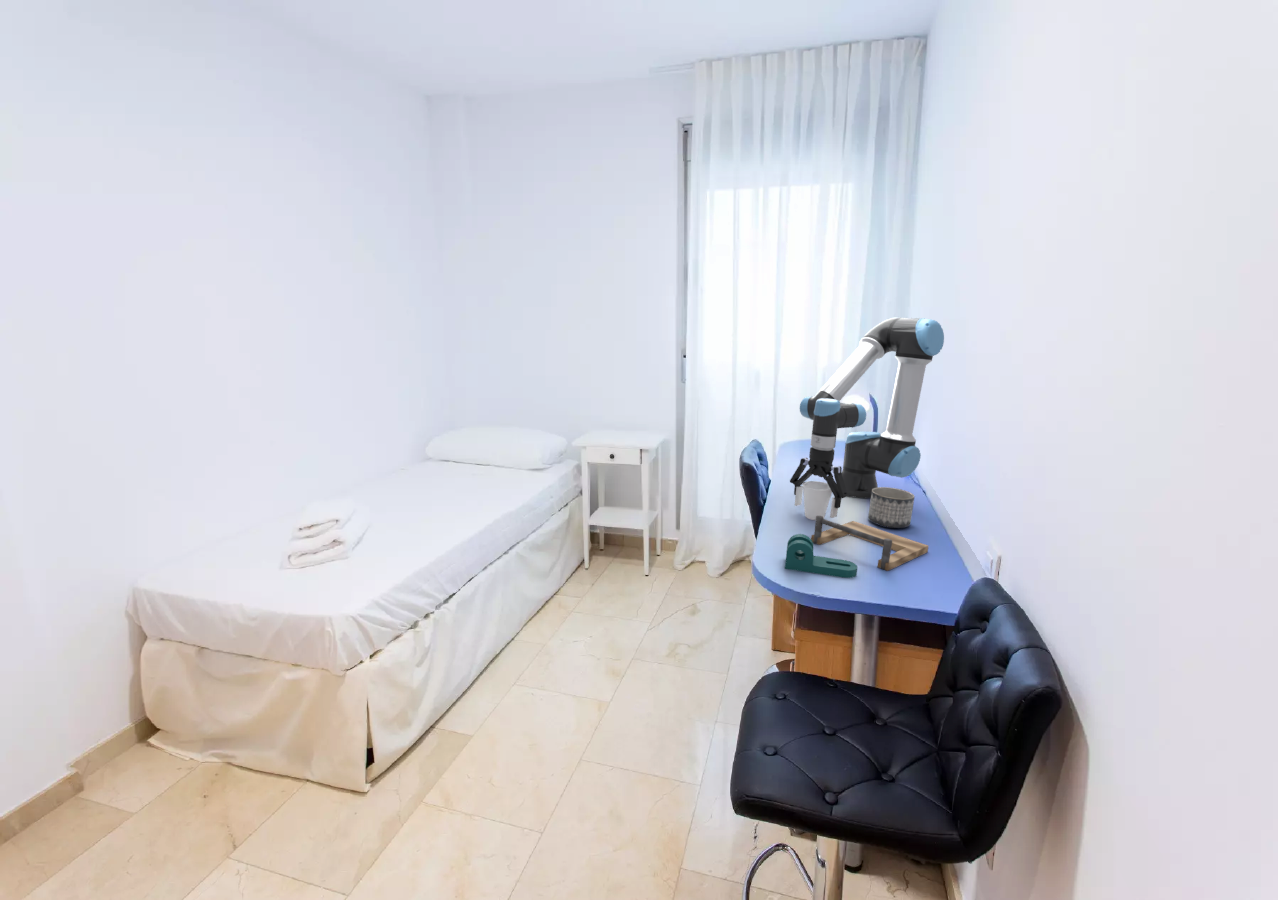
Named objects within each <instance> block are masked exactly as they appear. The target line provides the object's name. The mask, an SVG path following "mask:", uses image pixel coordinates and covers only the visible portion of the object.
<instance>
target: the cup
mask: <svg viewBox="0 0 1278 900" xmlns="http://www.w3.org/2000/svg"><path fill="white" fill-rule="evenodd" d="M801 486H803V507H804V516H805V518H806V519H809V520H811V521H816V516H823V519H825V517H826V514H827V510H828V507H829V502H830V501H831V499H832V498H831V497H832V495H833V493H832V491H831V489H830V487H829V485H828V483H827V482H823V481H816V480H808V481H807V480H806V481H805V482H804V483H802V485H801Z"/></svg>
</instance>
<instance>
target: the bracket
mask: <svg viewBox="0 0 1278 900" xmlns="http://www.w3.org/2000/svg"><path fill="white" fill-rule="evenodd" d="M785 555H786V556H785V565H784V570H789V571H797V572H803V573H804V572H805V573H809V574H810V573H811V574H816V575H825V576H832V577H837V578H843V579H844V578H846V579H850V578H855V577H857V574H858V565H857V564H856V563H855V562H852V561H849V560H847V559H841V558H840V559H839V558H834V557H833V558H832V557H825V556H819V555H815V554H814V543H813V542H812V540H811V537H810V536H808V535H806V534H803V533H796V534H793V535H792V536H790V538H789V539H788V541H787V546H786V554H785Z"/></svg>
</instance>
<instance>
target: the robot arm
mask: <svg viewBox="0 0 1278 900" xmlns="http://www.w3.org/2000/svg"><path fill="white" fill-rule="evenodd" d="M944 343H945V334H944V329H943V328H942V325H941V324H940V323H939V322H938V321H937V320H935V319H929V318H920V317H919V318H917V317H916V318H912V317H911V318H910V317H891V318H889V319H888V318H887V319H886V320H883V321H882V322H880V323H878V324H877V325H875V326H874V327H872V328H871V329H870V330H869V331H868V332H867V333H866V334H864V335H863V336H862V338H861V339H860V341H859V343H858V347H857V348H856V349H855V350H854V351H853V352H852V353H851V354H850V356H849V357H848V358H847V359H846V360H845V361H844V362H843V363H842V365H841V366H840V367H839V368H838V369H837V370H836V371H835V373H833V375H832V376H831V377H830V378H829V379H828V380H827V382H826V383H825V384H824V385H823V386H822V387H821V388H820V389H819V391H818V392H816V394H815V395H814V396H812V395H811V396H806V397H804V398H803V399H802V400H801V401H800V404H799V413H800V414H801V416H802V417H804V418H806V419H809V420H811V421H812V428H811V429H812V430H811V437H810V438H811V439H810V446H811V447H810V448H809V459H808V457H804V458H803V457H802V458H800V459H799V460H800V462H799V465H798V467H797V468H796V470H795V471H794V473H793V474H792V476H791V478H790V479H789V482H790V483H791V484H793V485H794V491H793V495H794V496H795V497H794V499H795V500H794V507H798V506H801V505H802V502H803V495H804V493H803V485H802V483H804V482H807V480H809V478H810V477H812V475H813V476H815V477H816V476H817V477H820V478H823V479H824V481H826V482H825V483H828V485H829V487H830V489H831V491H832V495H833V497H832V498H831V506H830V514H829V518H830V519H832V518H833V519H834V518H837V517H838V511H839V510H838V509H840V508H841V504H842V499H844V498H847V497H851V498H859V499H871V493H872V489H874V488H877V487H879V486H878V482H877V476H876V474H877V473H876V472H879V473H883V474H885V475H886V474H887V475H889V476H891V477H896V478H897V477H898V478H902V479H903V478H907V477H909V476H910V475H912V473H914V472H915V470H916V469H917V467H918V465H919V463H920V461H921V456H922V455H921V450H920V448H918V447H917V446H916V441H917V439H916V438H915V436H913V433H914V427H915V423H916V417H917V414H918V413H917V412H918V407H919V401H920V398H921V392H922V388H923V383H924V377H925V373H926V368H927V366H928V365H929V364H930V363H931V362H932V361H933V358H934V356H937V355H938V354H940V353H941V350H942V349H943V346H944ZM890 352H895V355H894V358H895V360H897V362H898V364H897V370H896V371H897V372H896V376H895V381H894V387H893V391H892V397H891V402H890V408H889V413H888V417H887V424H886V429H885V431H884V432H882V433H880V432H877V431H854V432H853V431H852V432H850V433H848V434H847V436H846V440H845V443H844V454H843V463H842V464H843V465H842V466H840V465H838V466H834V464H833V462H834V458H835V448H836V444H837V443H836V441H837V434H838V429H847V428H851V429H852V428H856V427H860V426H862V425H864V423H865V421H866V420H867V410H866V408H865V407H864V406H863V405H862V404H860V403H845V402H841V401H842V399H843V398H844V397H845V396H846V395H847V393H848V392H849V391H850V390H851V389H852V388H853V387H854V386H855V384H856V383H857V382H858V381H859V380H860V379H861V378H862V376H863V375H864V374H866V372H867V371H868V370H869V368H871V366H872V365H873V364H874V363H875V362H876V361H877V360H880V359H882V358H883V357H884V356H885V354H888V353H890ZM807 466H808V467H809V468H808V469H807V470H806V471H805V469H806V468H807ZM804 471H805V472H804ZM803 473H804V474H803ZM802 474H803V475H802Z"/></svg>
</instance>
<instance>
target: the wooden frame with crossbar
mask: <svg viewBox="0 0 1278 900" xmlns="http://www.w3.org/2000/svg"><path fill="white" fill-rule="evenodd" d="M823 525H825V526H828V527H830V528H829V529H826V530H824V531H823ZM847 534H848V535H849V534H850V535H849V536H852V537H855V538H858V539H861V540H863V541H866V542H868V543H869V542H870V543H872V544H874V545H877V546H881V547H882V550H881V551H882V552H881V558H879V559H878V560H877V566H876V567H877V568H879V569H881V570H884V571H886V572H888V571H891V570H893V569H896V568H897V567H899V566H902V565H903V564H906V563H908V562H909V561H912V560H914V559H917V558H918V557H920V556H922V555H925V554H926V553H928V552H929V546H930V545H928V544H924V543H922V542H918V541H917V540H912V539H909V538H907V537H903V536H900V535H897V534H895V533H891V532H890V531H889V532H888V531H885V530H882V529H880V528H876V527H873V526H870V525H867V524H864V523H861V522H858V521H854V520H851V521H849V522H846V523H843V524H839V523H836V522H833V521H831V520H827V519H825V518H824V519H823V516H816V520H815V523H814V533H813V534H811V537H810V539H811V540H812V542H813V544H816V545H818V546H821V545H823V544H826V543H829V542H831V541H834V540H837V539H839V538H842V537H845V536H848V535H847ZM891 551H895V552H893V553H892V552H891Z"/></svg>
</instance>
